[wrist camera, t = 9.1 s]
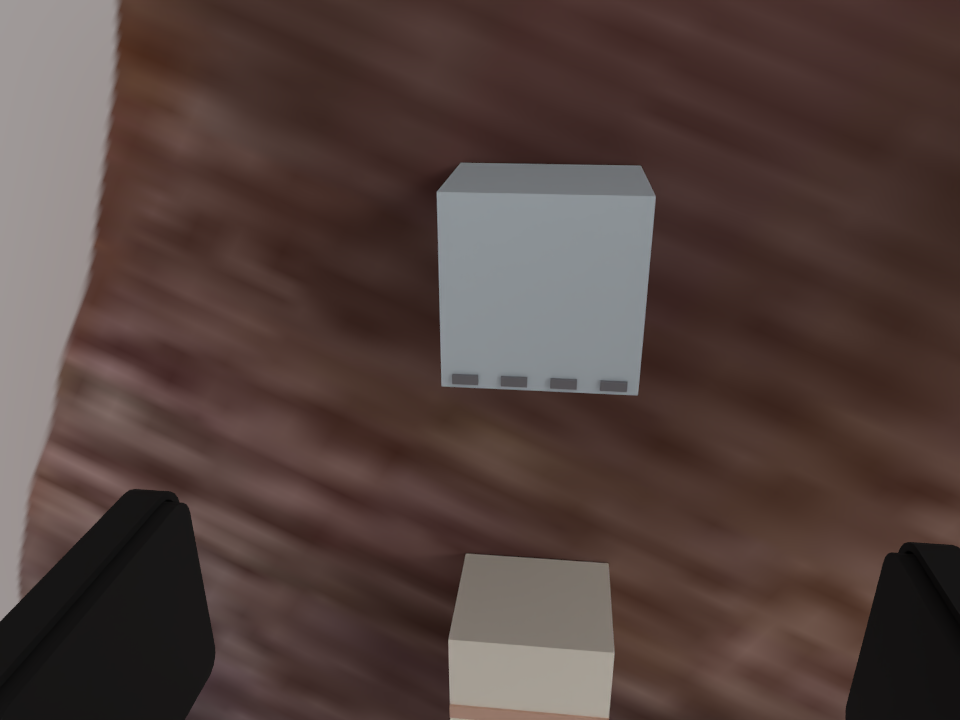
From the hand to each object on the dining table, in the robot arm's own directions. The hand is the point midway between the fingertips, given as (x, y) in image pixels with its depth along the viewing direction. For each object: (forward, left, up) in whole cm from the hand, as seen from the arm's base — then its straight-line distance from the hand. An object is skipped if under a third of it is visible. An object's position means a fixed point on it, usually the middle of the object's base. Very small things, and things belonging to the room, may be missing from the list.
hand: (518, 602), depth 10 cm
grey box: (0, 0, -18) cm, 18 cm away
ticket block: (0, +21, -18) cm, 28 cm away
